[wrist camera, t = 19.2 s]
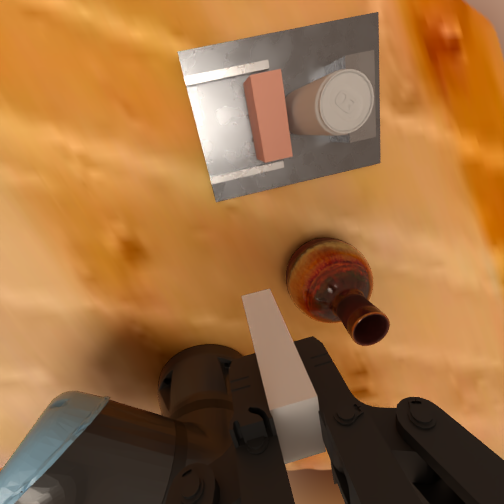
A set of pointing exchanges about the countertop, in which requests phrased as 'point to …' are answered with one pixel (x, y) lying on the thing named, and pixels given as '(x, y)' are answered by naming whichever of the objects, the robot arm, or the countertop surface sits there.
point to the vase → (336, 288)
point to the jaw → (268, 115)
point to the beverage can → (331, 104)
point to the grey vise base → (294, 76)
